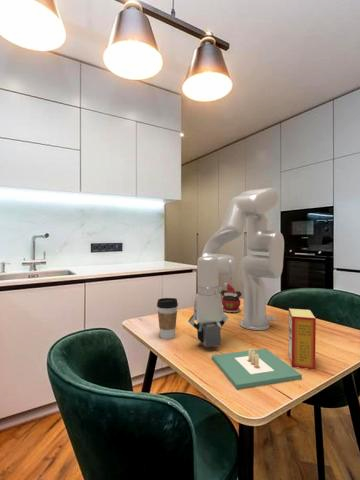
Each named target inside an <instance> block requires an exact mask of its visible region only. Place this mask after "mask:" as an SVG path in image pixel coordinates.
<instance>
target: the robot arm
mask: <svg viewBox="0 0 360 480" xmlns="http://www.w3.org/2000/svg"><path fill="white" fill-rule="evenodd" d="M278 202H279V192H278V191H277V190H276V189H275V188H273V187H267V188H266V187H265V188H259V189H251V190H249V189H248V190H246V191H243V192H241V193H240V194H239V195H236V196H234V197H233V198H231V199H230V200H229V204H228V207H227V210H226V212H225V216H224V217H223V222H222V224H221V226H220V228H219V229H218V230H217V231H216V232H215V233H213V235H212V236H211V237H210V238H209V239H208V240H207V242H206V243H205V245H204V248H203V250H202V253H201V256H200V257H198V258H197V263H196V265H197V293H196V294H195V295H194V296H195V297H194V302H193V314H192V315H191V317H190V318H189V319H188V321H187V322H188V323H189V324H190V325H191V326H193V327H194V328H195V329H196V331H197V339H198V340H199V342H200V343H202V342H203V331H202V328H203V324H204V323H212V322H215V323H216V324H217V325H219V326H220V330H221V329H222V327H223V325H225V324H226V322H227V321H228V320H229V316H228V315H227V314H226V313H225V311H224V310H223V305H222V299H223V298H222V294H221V293H220V292H221V291H222V290H223V286H220V283H219V282H220V280H219V279H220V276H229V275H232V274H233V273H234V272H235V271H237V270H236V269H238V263H237V260H236V258H235V257H234V256H232V255H229V254H224V253H223V254H221V253H218V251H219V250H220V249H221V248H222V247H223V246H224V245H226V244H227V243H230V242H232V241H234V240H236V239H238V238H240V237H241V236H242V235H243V231H244V229H245V224H246V222H247V234H246V248H247V249H248V250H249V251H251V252H256V253H257V252H258V253H268V255H262V254H249V255H246V256H243V258H242V260H241V263H240V264H241V265H240V267H241V272H242V278H243V319H241V320H240V321H239V326H240V327H242V328H244V329H245V330H251V331H264V330H268V329H270V323H269V322H276V320H277V319H276V316H274V315H272V316H270V315H266V312H267V310H266V307H267V303H266V302H267V299H266V298H267V296H266V295H267V287H266V283H265V281H264V279H263V278H266V279H278V278H280V277H281V276H282V273H283V268H284V253H285V239H284V235H283V233H281V232H280V231H279V230H273V229H272V230H269V229H268V228H269V227H268V226H269V223H268V222H269V221H268V216H267V215H266V213H267V212H270V211H271V210H273V209H275V207H277V205H278ZM195 321H196V322H195ZM202 344H203V343H202Z"/></svg>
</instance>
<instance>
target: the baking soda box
mask: <svg viewBox="0 0 360 480" xmlns="http://www.w3.org/2000/svg"><path fill="white" fill-rule="evenodd" d="M316 323H317V319H316V316H314V314H313V312H312V311H311V310H310V309H301V308H291V307H289V308H288V357H289V361H290V364H291V367H292V368H295V367H299V368H298V369H303V368H308V369H307V370H311V369H315V370H316V332H317V331H316V330H317V329H316V326H317V324H316Z"/></svg>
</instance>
